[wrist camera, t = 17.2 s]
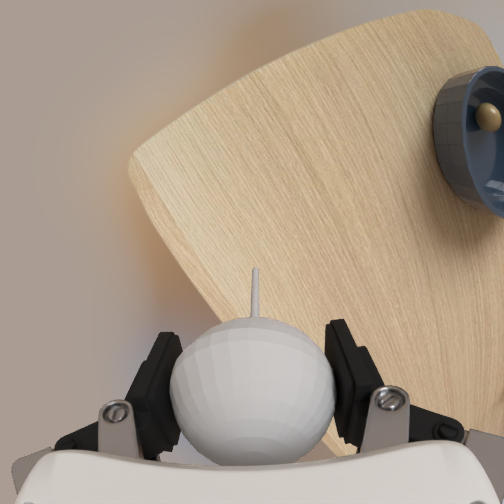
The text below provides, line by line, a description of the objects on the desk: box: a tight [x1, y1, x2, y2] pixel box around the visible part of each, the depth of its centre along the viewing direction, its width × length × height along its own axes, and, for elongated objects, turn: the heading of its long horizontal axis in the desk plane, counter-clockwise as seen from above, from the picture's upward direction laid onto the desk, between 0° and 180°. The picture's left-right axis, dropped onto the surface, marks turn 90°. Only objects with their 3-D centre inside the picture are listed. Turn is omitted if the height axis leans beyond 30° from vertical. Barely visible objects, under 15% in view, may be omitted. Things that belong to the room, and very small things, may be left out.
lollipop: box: [169, 267, 337, 466], centre depth 14 cm, size 6×6×15 cm
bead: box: [475, 103, 501, 133], centre depth 22 cm, size 4×4×4 cm
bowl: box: [433, 66, 504, 218], centre depth 23 cm, size 17×17×6 cm
